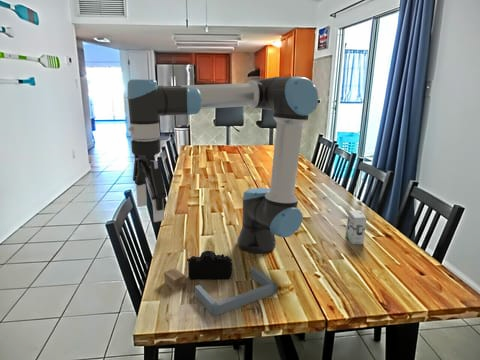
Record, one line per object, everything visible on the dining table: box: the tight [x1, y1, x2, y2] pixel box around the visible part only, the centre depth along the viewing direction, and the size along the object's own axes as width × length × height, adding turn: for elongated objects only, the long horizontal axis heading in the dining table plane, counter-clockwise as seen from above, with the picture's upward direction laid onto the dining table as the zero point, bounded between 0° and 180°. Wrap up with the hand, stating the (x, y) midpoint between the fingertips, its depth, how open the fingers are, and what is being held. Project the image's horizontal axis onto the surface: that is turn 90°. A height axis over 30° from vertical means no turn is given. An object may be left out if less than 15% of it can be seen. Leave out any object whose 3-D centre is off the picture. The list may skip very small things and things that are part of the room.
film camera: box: [186, 250, 233, 281], centre depth 119 cm, size 15×10×9 cm, turn 92°
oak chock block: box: [163, 267, 187, 292], centre depth 112 cm, size 4×6×4 cm, turn 43°
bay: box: [194, 266, 278, 317], centre depth 108 cm, size 22×12×3 cm, turn 123°
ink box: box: [345, 209, 367, 245], centre depth 146 cm, size 9×5×12 cm, turn 2°
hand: (150, 213), depth 101 cm, fingers open, 13 cm apart
